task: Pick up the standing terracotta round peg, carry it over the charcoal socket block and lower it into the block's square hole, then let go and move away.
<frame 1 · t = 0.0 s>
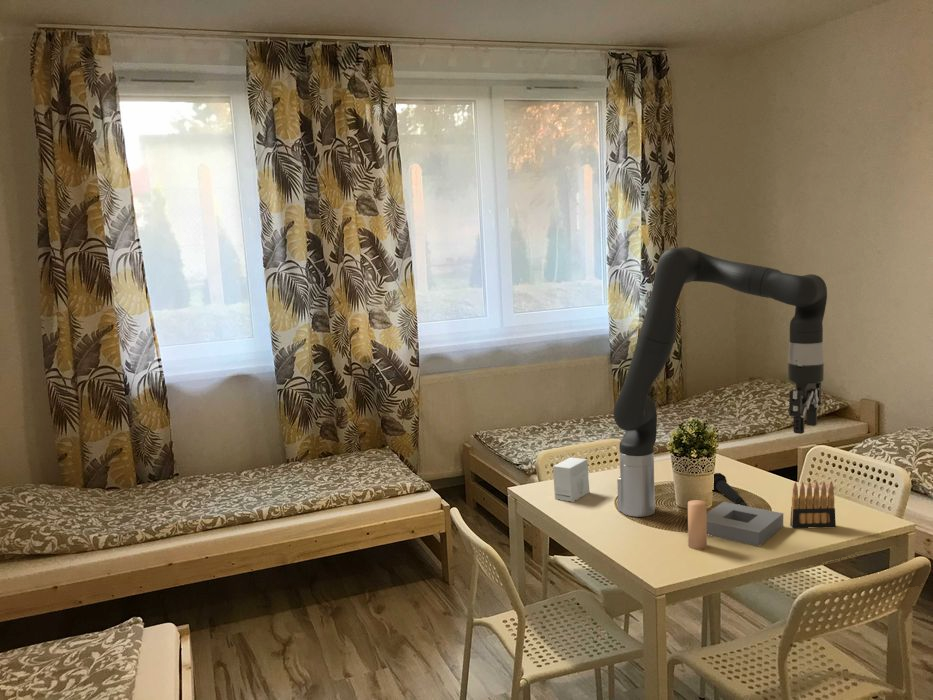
hand: (805, 429, 180), 29 cm above the table, tool pointing down, fingers open, 8 cm apart
skincare box: (571, 496, 231), on the table
peg: (697, 545, 189), on the table
ammunition clip: (812, 527, 197), on the table
socket block: (740, 529, 198), on the table
microphone: (726, 499, 222), on the table
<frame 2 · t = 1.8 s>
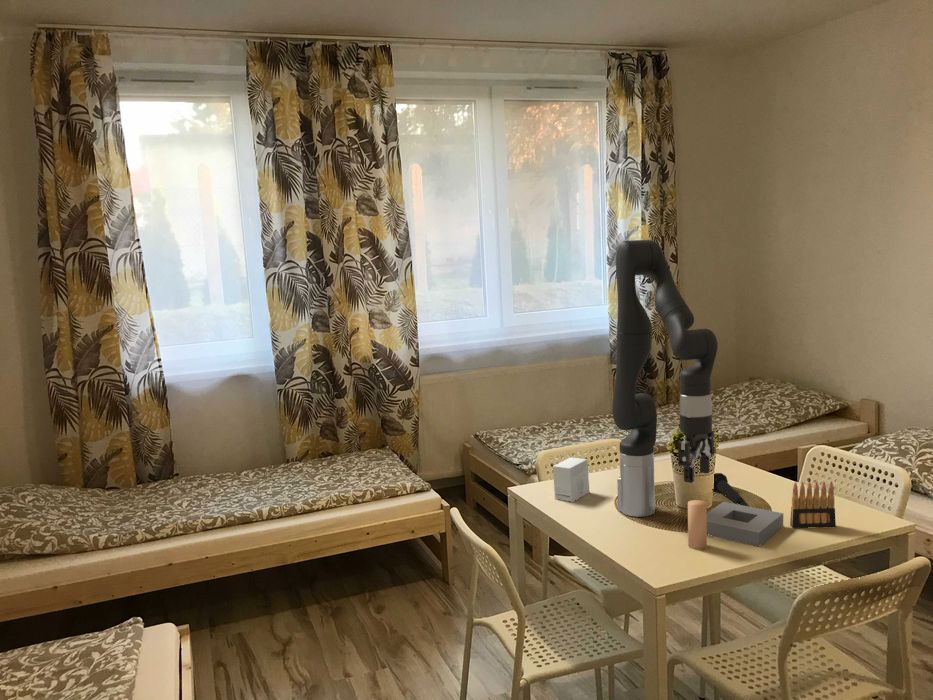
hand: (696, 477, 186), 17 cm above the table, tool pointing down, fingers open, 8 cm apart
nothing on the table moved.
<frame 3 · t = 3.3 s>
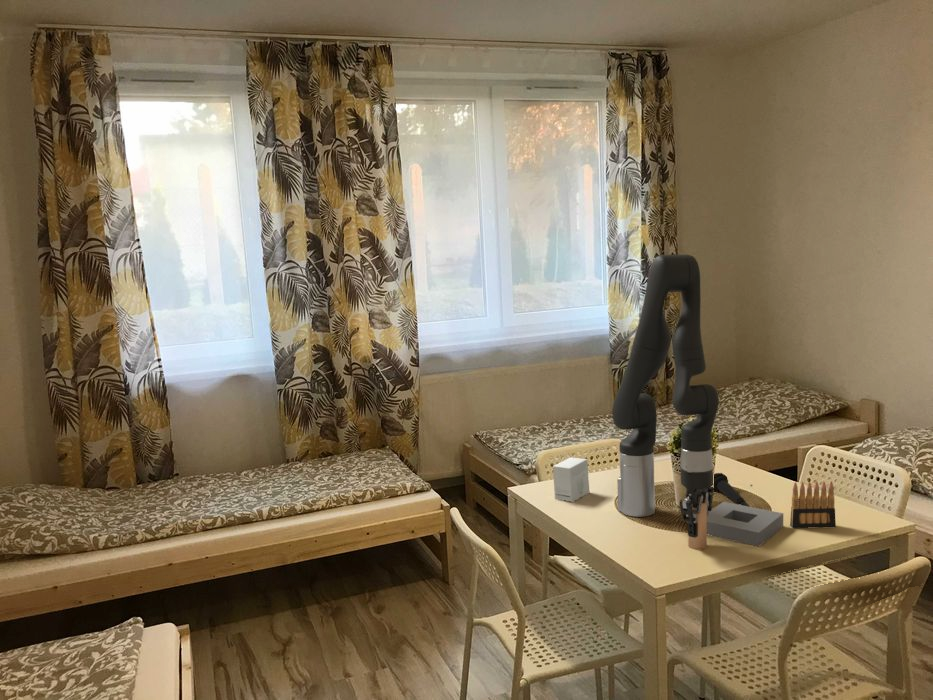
hand: (697, 533, 188), 3 cm above the table, tool pointing down, fingers closed on peg, 4 cm apart
peg: (697, 545, 189), on the table, touching gripper
everything else where it was.
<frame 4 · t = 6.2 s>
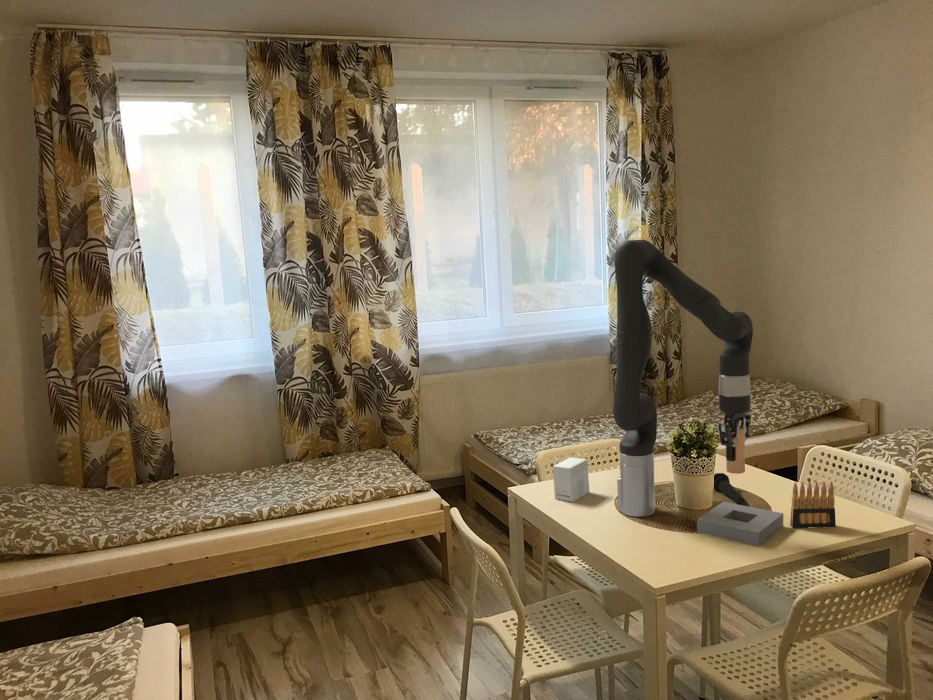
hand: (735, 458, 194), 19 cm above the table, tool pointing down, fingers closed on peg, 4 cm apart
peg: (735, 470, 194), point 16 cm above the table, touching gripper
everything else where it was.
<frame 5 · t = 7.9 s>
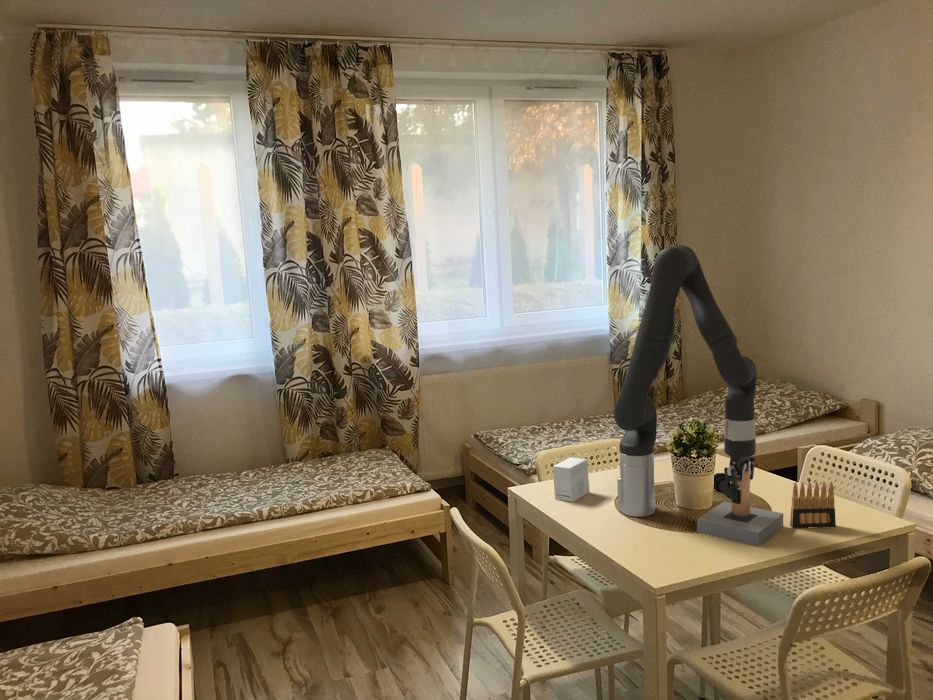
hand: (740, 500, 197), 8 cm above the table, tool pointing down, fingers closed on peg, 4 cm apart
peg: (740, 512, 197), point 4 cm above the table, touching gripper
everything else where it was.
when the fingers open (5 cm above the table, at t = 8.9 s): peg drops 1 cm, resting in socket block.
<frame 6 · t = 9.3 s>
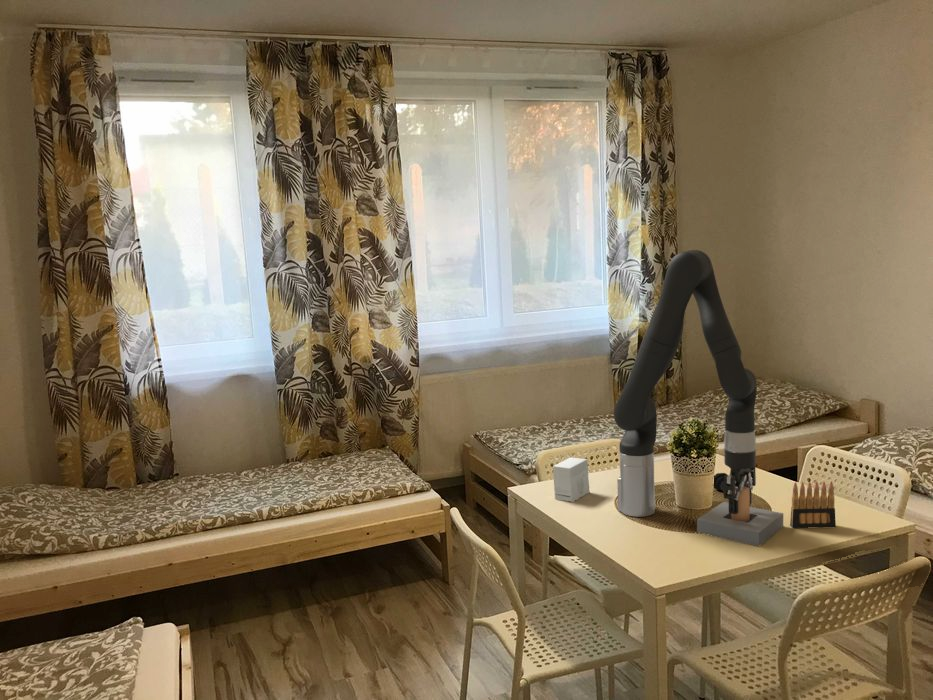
hand: (740, 508, 197), 6 cm above the table, tool pointing down, fingers open, 8 cm apart
peg: (740, 529, 198), resting in socket block
everything else where it was.
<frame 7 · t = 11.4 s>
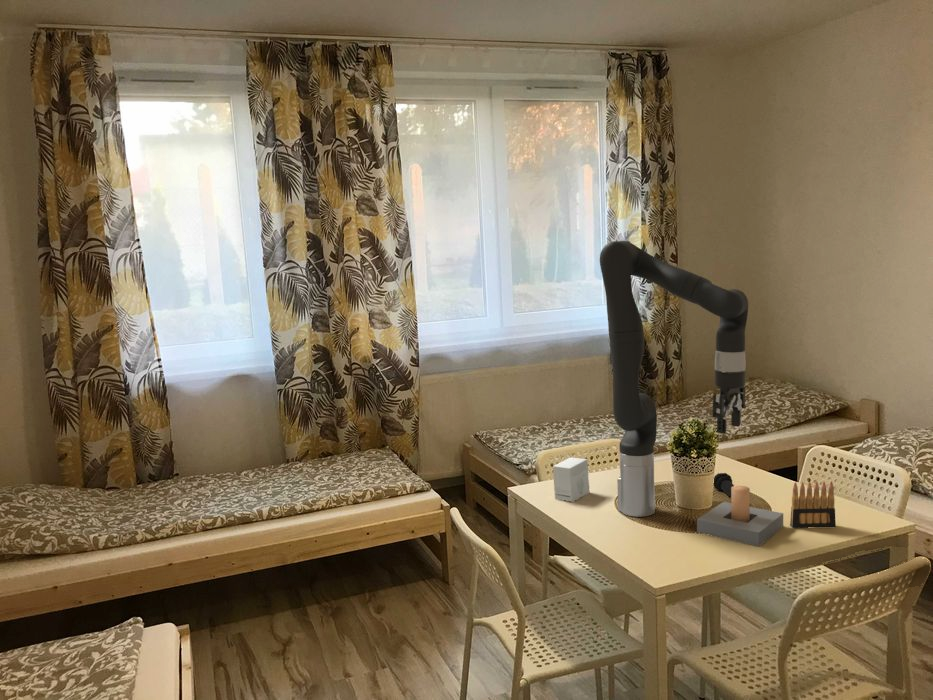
hand: (728, 429, 199), 25 cm above the table, tool pointing down, fingers open, 8 cm apart
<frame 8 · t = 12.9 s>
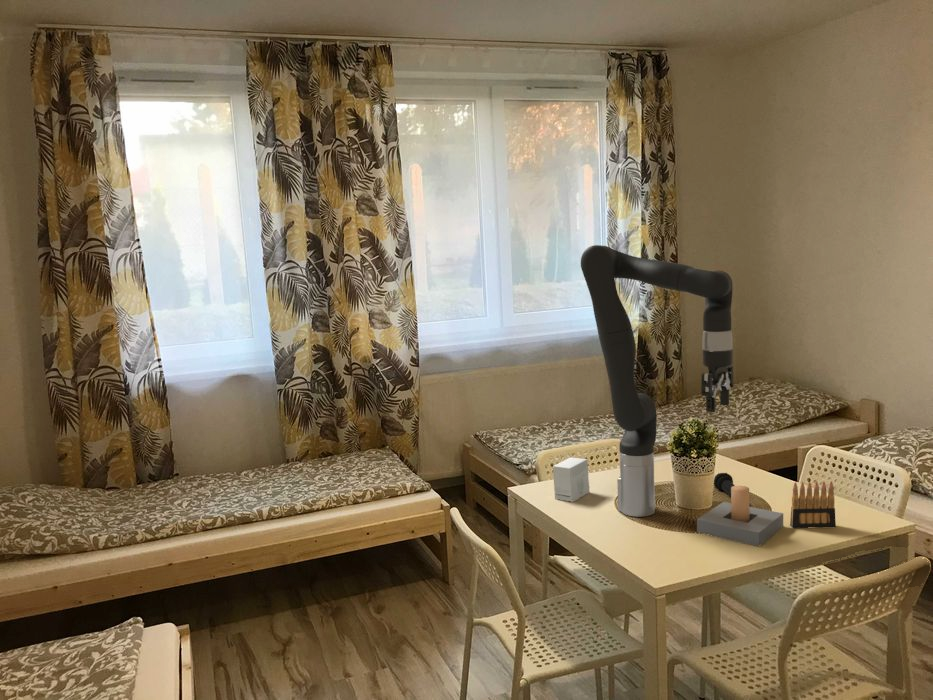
hand: (717, 408, 203), 30 cm above the table, tool pointing down, fingers open, 8 cm apart
at the end: peg 0.1 cm off-centre on the socket block, point 0.0 cm above the socket block's base; peg tilted 0°; the gripper is holding nothing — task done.
